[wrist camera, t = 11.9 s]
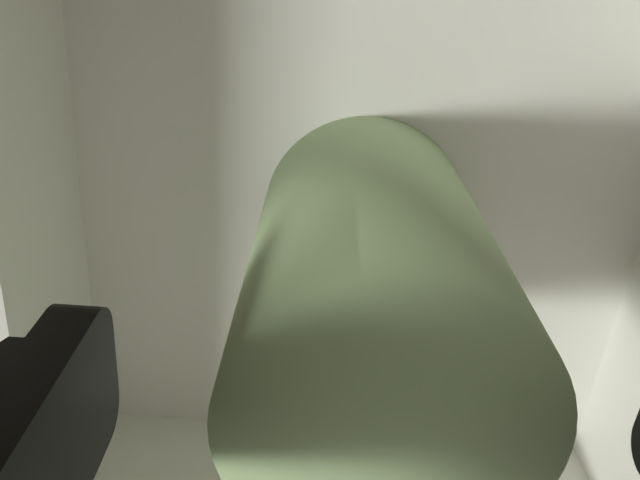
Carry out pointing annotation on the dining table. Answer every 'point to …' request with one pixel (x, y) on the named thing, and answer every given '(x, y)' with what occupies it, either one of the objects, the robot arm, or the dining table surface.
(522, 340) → the pale green egg shape
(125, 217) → the bin
